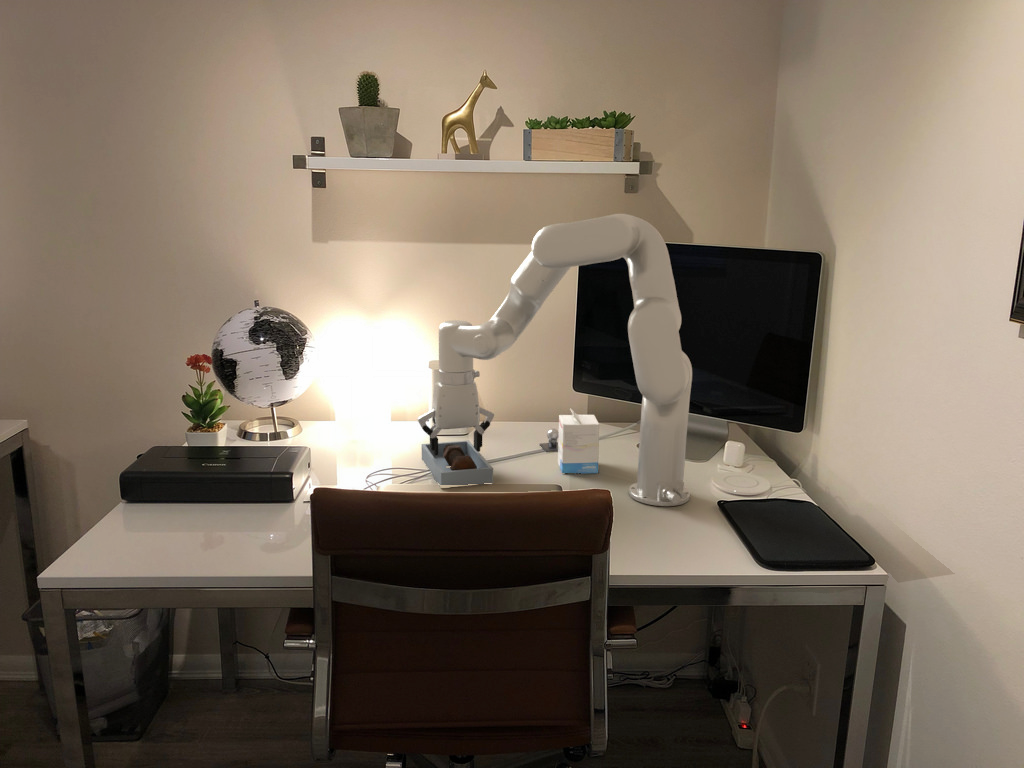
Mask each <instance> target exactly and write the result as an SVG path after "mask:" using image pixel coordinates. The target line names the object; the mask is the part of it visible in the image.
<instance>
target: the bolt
mask: <svg viewBox="0 0 1024 768" xmlns="http://www.w3.org/2000/svg"><path fill="white" fill-rule="evenodd" d="M445 447H446V448H444V454H443V457H444V458H445V460H446V461H447V463H448V464H449V466H451V467H450V469H451V470H452V471H455V470H466V469H477V466H476V464H475V463H474V461H473V460H472V458H471V457H470V455H468V456H465V454H464V452H463V451H462V449H461V447H460V446H459V445H446V446H445Z"/></svg>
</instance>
